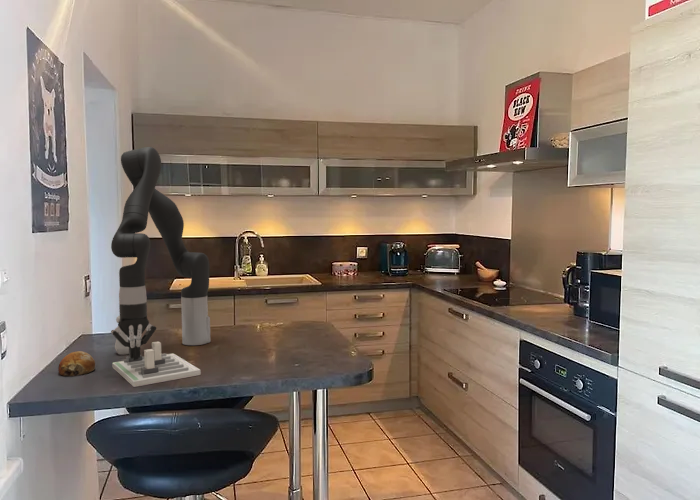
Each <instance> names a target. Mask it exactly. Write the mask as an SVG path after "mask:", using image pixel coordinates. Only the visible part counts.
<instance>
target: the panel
mask: <svg viewBox="0 0 700 500" xmlns="http://www.w3.org/2000/svg"><path fill="white" fill-rule="evenodd" d="M161 357H163V358H164V359H165V364H160V365H155V366H157V367H158V372H157V373H151V374H145V375H143V376H142V375H141V367H145V361H144V356H142V360H141V361H135V362H128V363H127V362H126V359H123V360H121V361H115V362H112V369H114V370H115V371H116V372H117V373H118V374H119V375H120V376H121V377H123V379H125V380H126V381H127V383H129V384H130V385H131V386H132V387H134V388H135V387H141V386H147V385H151V384H152V385H153V384H158V383H162V382H170V381H174V380H179V379H185V378H190V377H191V378H192V377H195V376H196V377H197V376H201V375H202V374H201V373H202V372H201V369H200V368H198V367H197V366H195V365H193V364H191V363H190V362H188V361H186V359H184V358H181V356H178V355H177V354H175V353H161Z"/></svg>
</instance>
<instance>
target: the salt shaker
mask: <svg viewBox="0 0 700 500" xmlns="http://www.w3.org/2000/svg"><path fill="white" fill-rule="evenodd" d="M115 320H116V323H117V324H118V323H119V321H120V315H118V316H116V319H115ZM120 332H121V335H120V336H121V337H122V338H123V339H124V340H125V341H126V342H128V339H127V335H125V334H124V333H123V331H122V330H120ZM114 349H115V351H116V353H117V355H121V356H123V355H124V356H126V355H129V347H125V346H124V345H122V344H121V343H120V342H119V341H118V340H117V339H116V338H115V343H114Z"/></svg>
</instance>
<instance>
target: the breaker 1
mask: <svg viewBox="0 0 700 500" xmlns="http://www.w3.org/2000/svg"><path fill="white" fill-rule="evenodd" d="M142 357H143V355H141V354H140V357H139V358H138V360H132V359H131V358H130V357H129V355H125V358H126V362H127V363H128V362H135V361H141V360H142Z"/></svg>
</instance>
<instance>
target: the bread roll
mask: <svg viewBox="0 0 700 500" xmlns="http://www.w3.org/2000/svg"><path fill="white" fill-rule="evenodd" d="M57 369H58V370H57V371H58V374H59V375H61V376H62V377H63V376H64V377H66V376H67V377H75V376H81V375H86V374H89V373H91V372H93V371H95V369H96V361H95V359H94V357H92V355H91V354H89V353H88V352H86V351H82V350H78V351H77V350H76V351H71V352H69V353H68V354H66V355H65V356H64V357H63V358H62V359H61V361H60V362H59V364H58V367H57Z"/></svg>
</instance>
